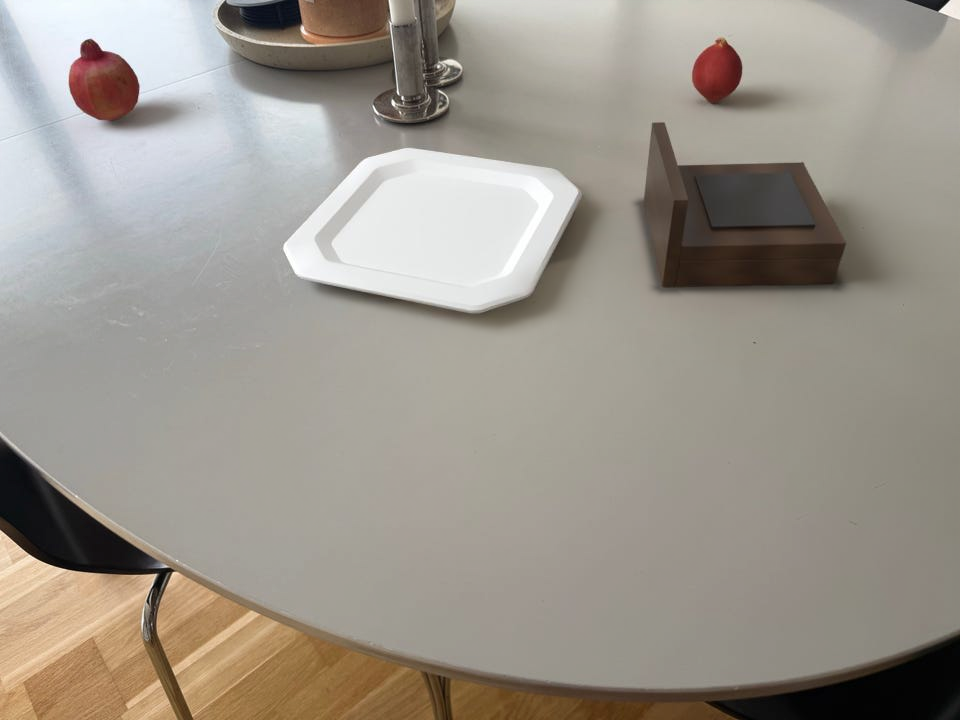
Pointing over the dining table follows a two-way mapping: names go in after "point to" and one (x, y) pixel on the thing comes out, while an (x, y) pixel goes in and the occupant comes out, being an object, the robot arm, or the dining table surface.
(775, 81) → the dining table surface
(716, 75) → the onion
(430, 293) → the plate
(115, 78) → the fruit
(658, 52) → the dining table surface
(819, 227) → the wooden bookend stand
